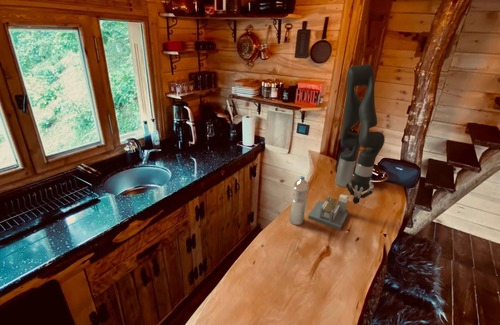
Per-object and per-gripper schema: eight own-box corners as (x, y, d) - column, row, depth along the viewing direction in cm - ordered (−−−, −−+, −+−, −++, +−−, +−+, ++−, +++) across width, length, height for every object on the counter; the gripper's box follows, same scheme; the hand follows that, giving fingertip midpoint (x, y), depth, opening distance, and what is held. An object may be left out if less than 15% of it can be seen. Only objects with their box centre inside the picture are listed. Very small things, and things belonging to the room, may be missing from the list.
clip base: (318, 203, 150) (320, 191, 147) (348, 213, 143) (351, 200, 139) (307, 218, 138) (310, 205, 134) (339, 230, 130) (342, 216, 127)
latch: (340, 198, 141) (341, 193, 140) (347, 200, 140) (349, 195, 138) (338, 200, 139) (339, 195, 138) (346, 203, 137) (347, 198, 136)
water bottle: (292, 215, 140) (298, 172, 129) (305, 220, 136) (312, 176, 125) (287, 222, 134) (292, 178, 123) (300, 227, 131) (307, 182, 120)
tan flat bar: (331, 199, 144) (331, 197, 143) (337, 201, 142) (337, 199, 142) (323, 211, 133) (323, 210, 133) (329, 213, 132) (329, 212, 131)
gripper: (347, 171, 129) (340, 202, 136) (376, 179, 123) (368, 211, 130) (350, 165, 135) (344, 195, 142) (379, 173, 129) (370, 203, 136)
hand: (355, 202), depth 136 cm, fingers closed
